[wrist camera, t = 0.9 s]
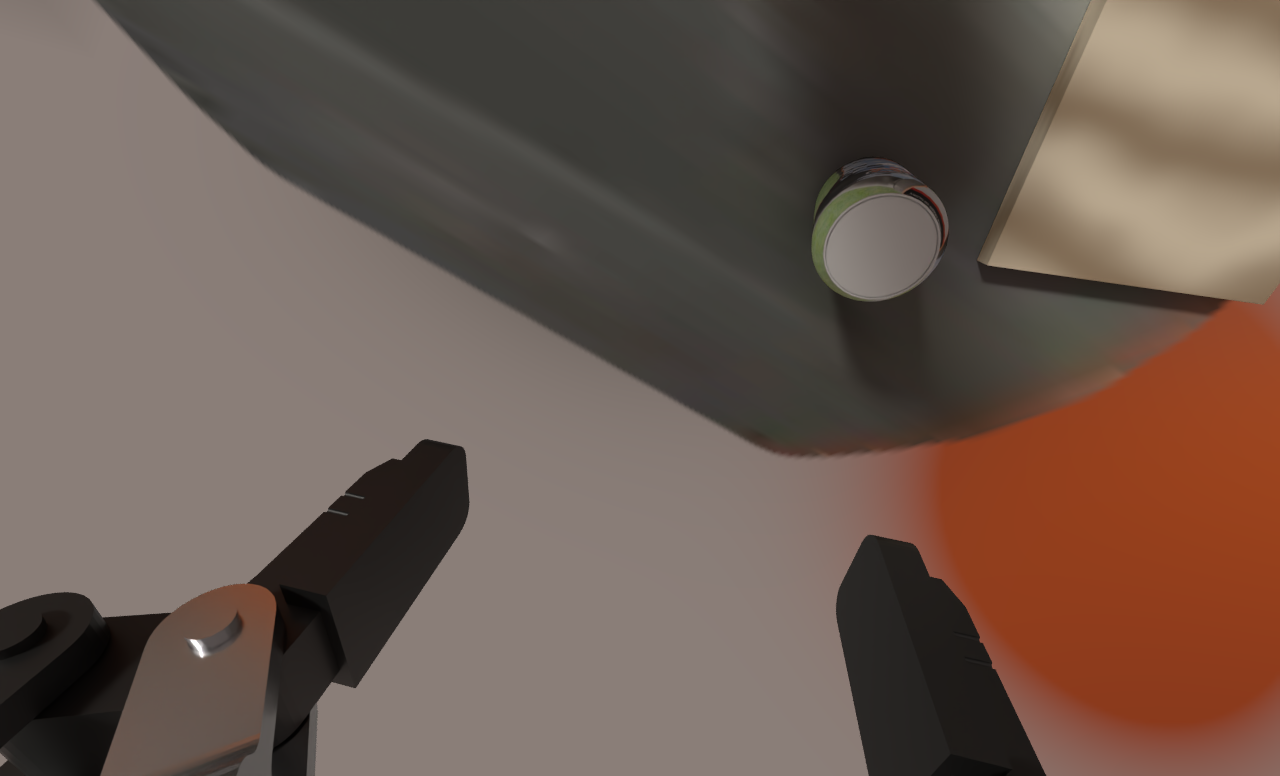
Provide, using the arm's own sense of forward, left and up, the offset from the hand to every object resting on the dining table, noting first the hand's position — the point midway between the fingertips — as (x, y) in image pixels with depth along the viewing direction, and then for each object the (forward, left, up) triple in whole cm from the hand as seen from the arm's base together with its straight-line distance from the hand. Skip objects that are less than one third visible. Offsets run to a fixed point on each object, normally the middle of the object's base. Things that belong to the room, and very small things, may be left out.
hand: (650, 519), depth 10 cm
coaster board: (-10, +26, -29) cm, 40 cm away
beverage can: (-4, +9, -29) cm, 30 cm away
